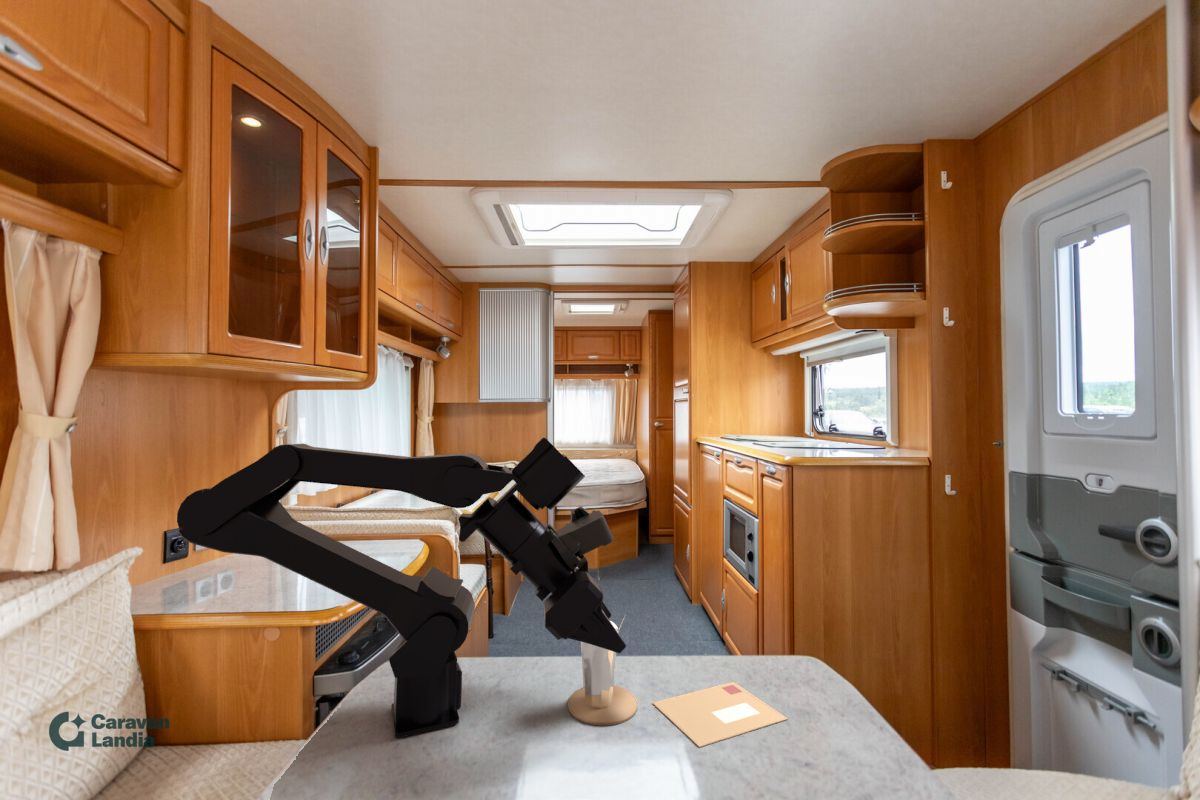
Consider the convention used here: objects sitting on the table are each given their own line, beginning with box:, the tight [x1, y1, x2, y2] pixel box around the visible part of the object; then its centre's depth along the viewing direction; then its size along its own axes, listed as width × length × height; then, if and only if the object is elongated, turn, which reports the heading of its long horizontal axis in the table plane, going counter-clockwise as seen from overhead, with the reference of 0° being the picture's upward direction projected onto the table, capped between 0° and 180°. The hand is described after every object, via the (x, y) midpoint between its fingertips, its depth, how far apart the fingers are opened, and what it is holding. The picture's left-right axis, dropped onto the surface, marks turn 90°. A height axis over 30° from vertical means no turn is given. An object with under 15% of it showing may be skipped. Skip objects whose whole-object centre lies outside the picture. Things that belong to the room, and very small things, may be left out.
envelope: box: [652, 681, 788, 748], centre depth 57 cm, size 12×9×1 cm
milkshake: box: [580, 613, 626, 708], centre depth 59 cm, size 4×5×10 cm
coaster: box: [567, 685, 638, 727], centre depth 58 cm, size 8×8×1 cm
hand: (615, 632), depth 59 cm, fingers open, 9 cm apart
